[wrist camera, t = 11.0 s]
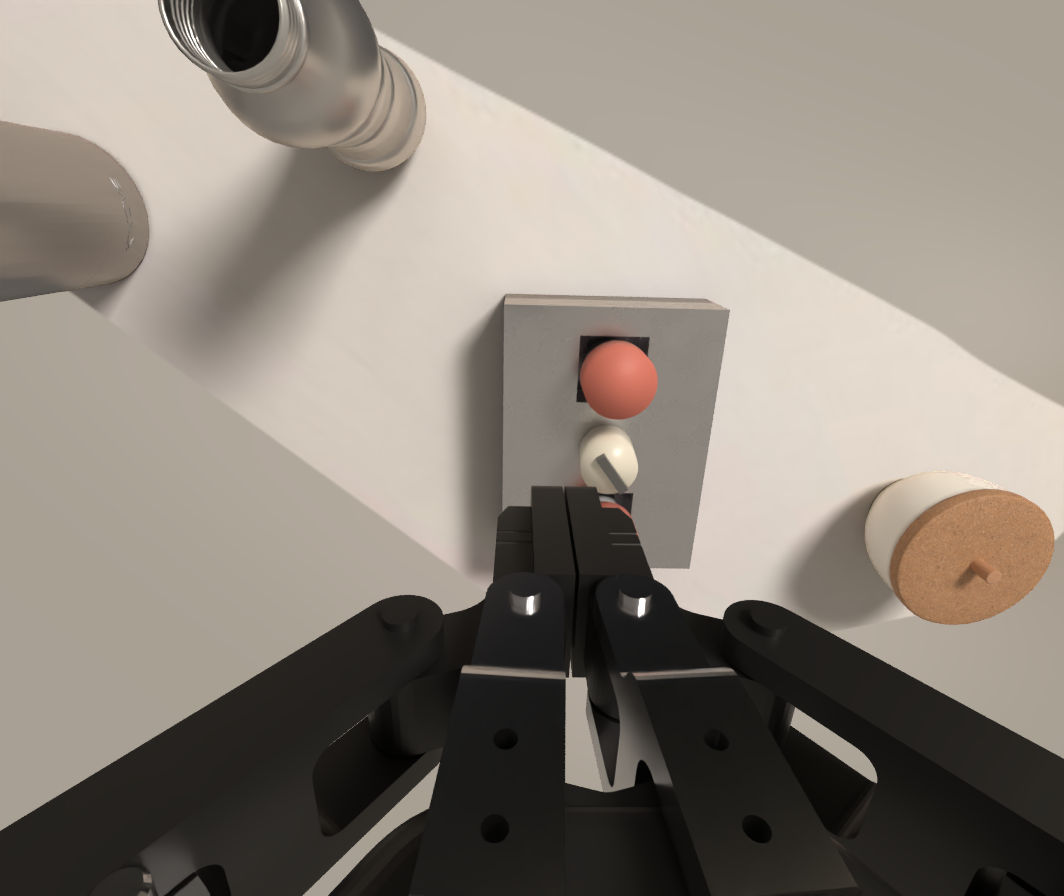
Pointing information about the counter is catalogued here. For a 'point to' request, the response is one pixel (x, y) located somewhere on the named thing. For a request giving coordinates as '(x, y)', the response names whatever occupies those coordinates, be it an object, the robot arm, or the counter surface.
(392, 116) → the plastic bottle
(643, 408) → the knob inner
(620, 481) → the dial
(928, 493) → the lidded jar
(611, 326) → the panel
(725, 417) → the counter surface
